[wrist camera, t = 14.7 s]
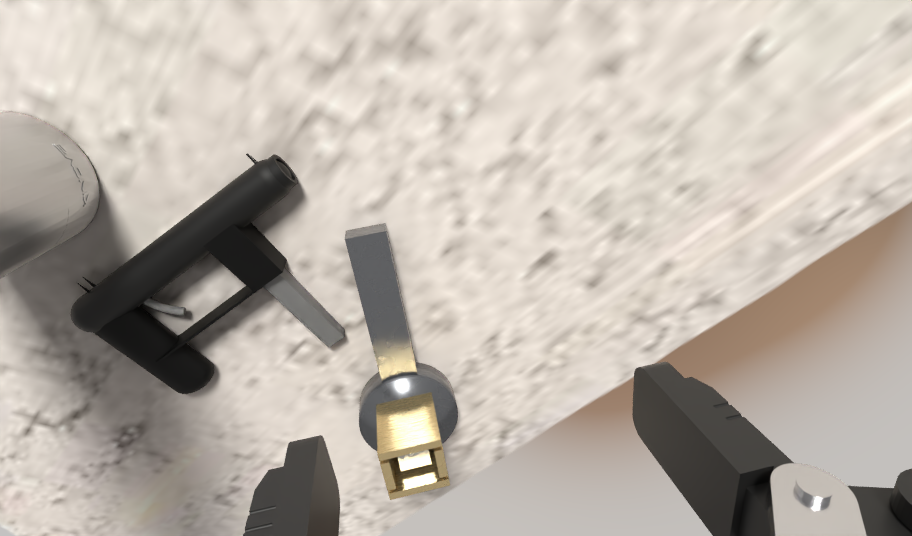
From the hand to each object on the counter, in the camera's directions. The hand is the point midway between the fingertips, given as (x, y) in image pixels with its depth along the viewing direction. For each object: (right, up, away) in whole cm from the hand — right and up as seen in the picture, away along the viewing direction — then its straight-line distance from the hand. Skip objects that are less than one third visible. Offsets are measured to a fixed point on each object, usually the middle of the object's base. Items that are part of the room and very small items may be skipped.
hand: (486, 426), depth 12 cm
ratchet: (-6, -3, +31) cm, 32 cm away
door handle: (-18, +2, +27) cm, 33 cm away
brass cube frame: (-5, -10, +32) cm, 33 cm away
